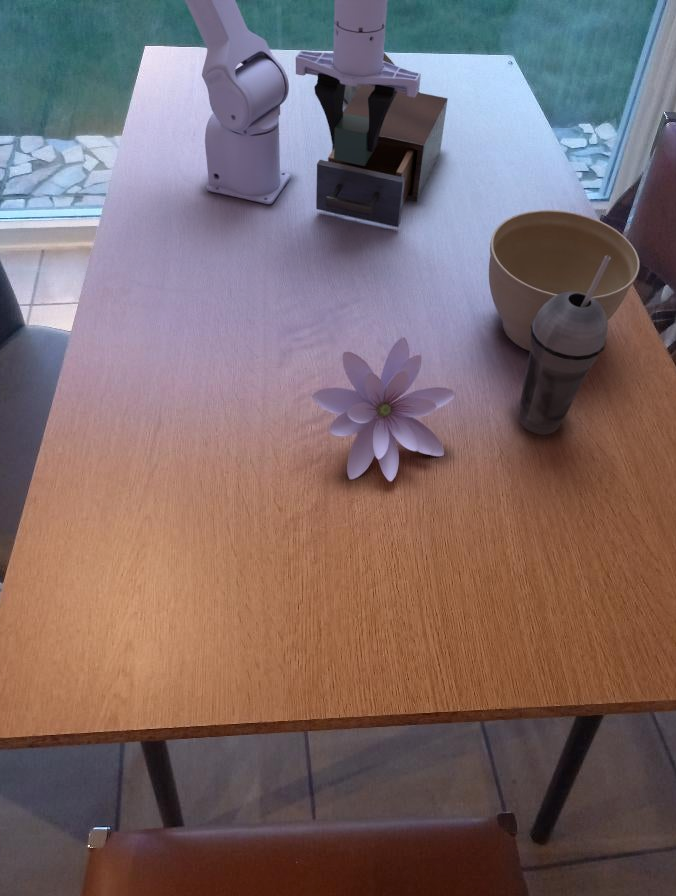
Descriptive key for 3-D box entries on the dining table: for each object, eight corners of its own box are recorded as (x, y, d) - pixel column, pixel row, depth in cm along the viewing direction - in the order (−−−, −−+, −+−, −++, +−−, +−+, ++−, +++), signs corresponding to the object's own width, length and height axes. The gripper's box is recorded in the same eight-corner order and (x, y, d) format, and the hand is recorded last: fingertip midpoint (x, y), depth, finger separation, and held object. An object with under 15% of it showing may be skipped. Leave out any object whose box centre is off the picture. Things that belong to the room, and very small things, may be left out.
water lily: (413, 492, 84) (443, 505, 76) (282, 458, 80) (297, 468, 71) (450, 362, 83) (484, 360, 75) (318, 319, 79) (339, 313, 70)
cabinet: (416, 202, 108) (424, 145, 101) (331, 183, 109) (332, 126, 103) (440, 153, 117) (447, 98, 110) (360, 136, 118) (363, 81, 112)
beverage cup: (499, 395, 85) (544, 232, 69) (564, 395, 86) (623, 233, 70) (512, 444, 80) (564, 282, 65) (580, 443, 81) (647, 282, 65)
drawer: (388, 246, 99) (393, 201, 94) (304, 227, 101) (304, 181, 96) (422, 177, 110) (427, 133, 105) (345, 161, 112) (347, 117, 107)
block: (333, 159, 96) (334, 127, 93) (343, 145, 98) (344, 113, 95) (364, 166, 95) (366, 133, 92) (373, 151, 98) (375, 119, 95)
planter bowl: (464, 288, 96) (480, 207, 88) (589, 289, 98) (617, 210, 89) (485, 376, 87) (505, 295, 78) (624, 376, 88) (658, 297, 80)
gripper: (285, 23, 84) (287, 147, 94) (414, 48, 82) (402, 171, 92) (306, 1, 88) (307, 122, 99) (430, 23, 86) (416, 144, 97)
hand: (354, 144), depth 96 cm, fingers closed on block, 4 cm apart
